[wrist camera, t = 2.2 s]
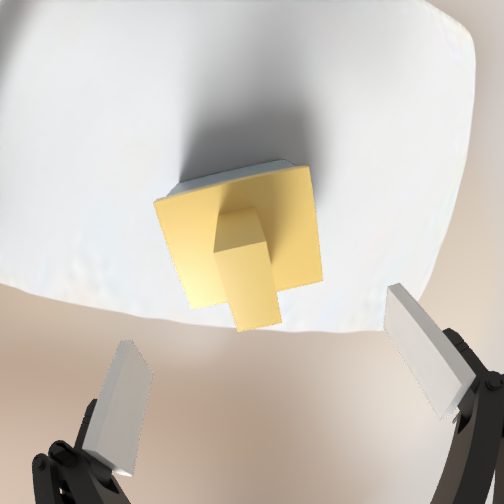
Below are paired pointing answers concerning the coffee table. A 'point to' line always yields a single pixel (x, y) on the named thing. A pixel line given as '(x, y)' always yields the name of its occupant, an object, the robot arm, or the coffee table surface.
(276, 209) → the lid
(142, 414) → the robot arm
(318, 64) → the coffee table surface
